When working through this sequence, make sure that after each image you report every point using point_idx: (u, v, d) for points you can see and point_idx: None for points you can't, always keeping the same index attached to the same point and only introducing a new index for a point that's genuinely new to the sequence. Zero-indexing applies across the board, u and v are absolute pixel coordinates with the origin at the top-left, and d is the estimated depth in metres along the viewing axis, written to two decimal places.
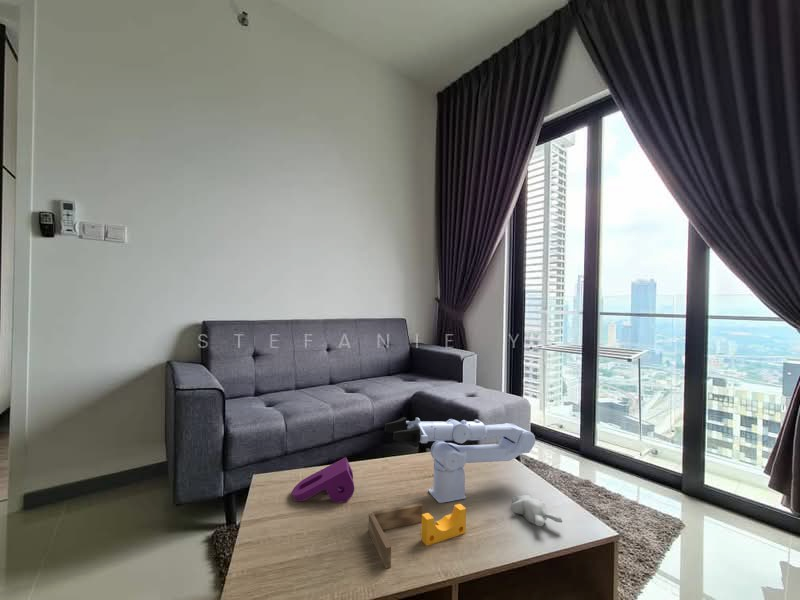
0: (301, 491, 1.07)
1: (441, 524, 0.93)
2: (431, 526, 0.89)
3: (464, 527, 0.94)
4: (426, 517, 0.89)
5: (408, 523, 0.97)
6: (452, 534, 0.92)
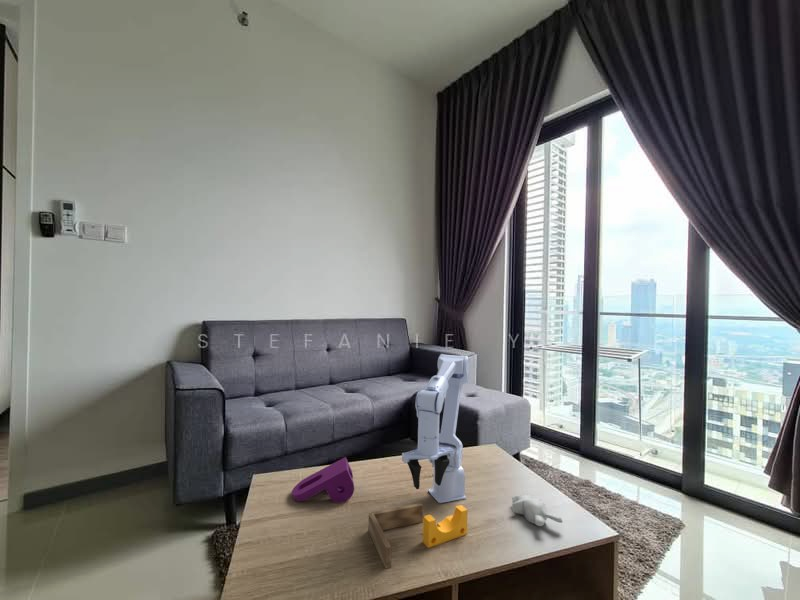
0: (301, 491, 1.07)
1: (442, 526, 0.93)
2: (433, 528, 0.88)
3: (465, 528, 0.93)
4: (428, 519, 0.89)
5: (408, 523, 0.97)
6: (454, 536, 0.91)
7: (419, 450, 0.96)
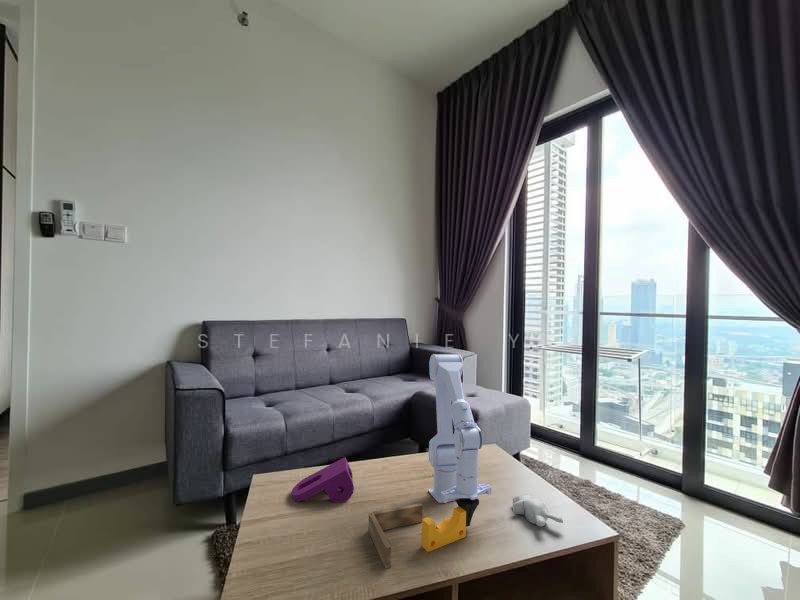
0: (300, 491, 1.07)
1: (441, 528, 0.91)
2: (433, 531, 0.87)
3: (464, 530, 0.92)
4: (427, 522, 0.87)
5: (408, 523, 0.97)
6: (453, 538, 0.90)
7: (458, 489, 0.94)
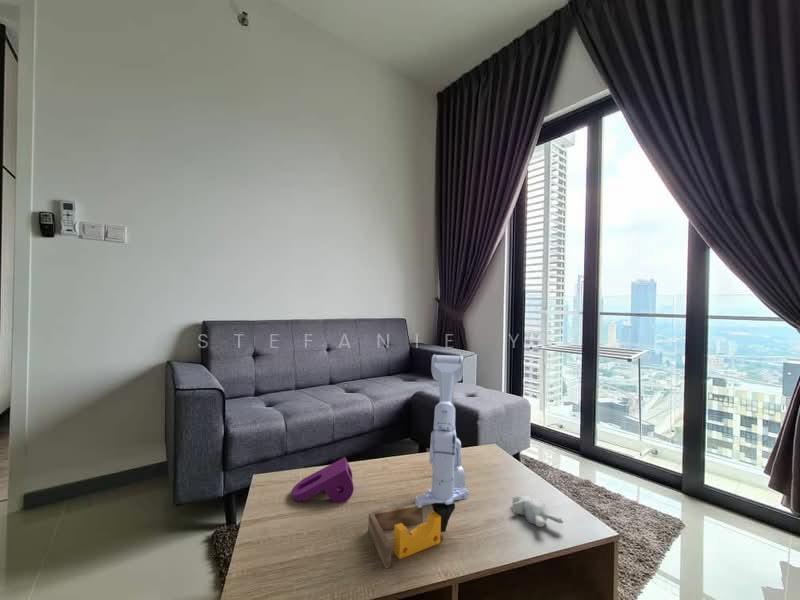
0: (300, 491, 1.07)
1: (415, 534, 0.89)
2: (405, 537, 0.84)
3: (439, 536, 0.89)
4: (399, 528, 0.84)
5: (408, 523, 0.97)
6: (426, 544, 0.87)
7: (433, 493, 0.92)
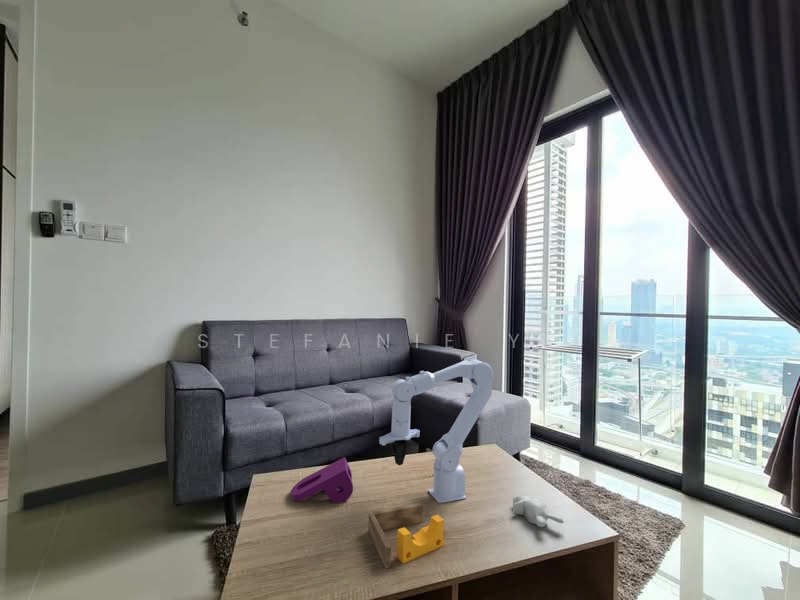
0: (300, 491, 1.07)
1: (418, 538, 0.87)
2: (408, 542, 0.83)
3: (442, 540, 0.88)
4: (402, 532, 0.83)
5: (408, 523, 0.97)
6: (429, 548, 0.86)
7: (394, 433, 1.09)
